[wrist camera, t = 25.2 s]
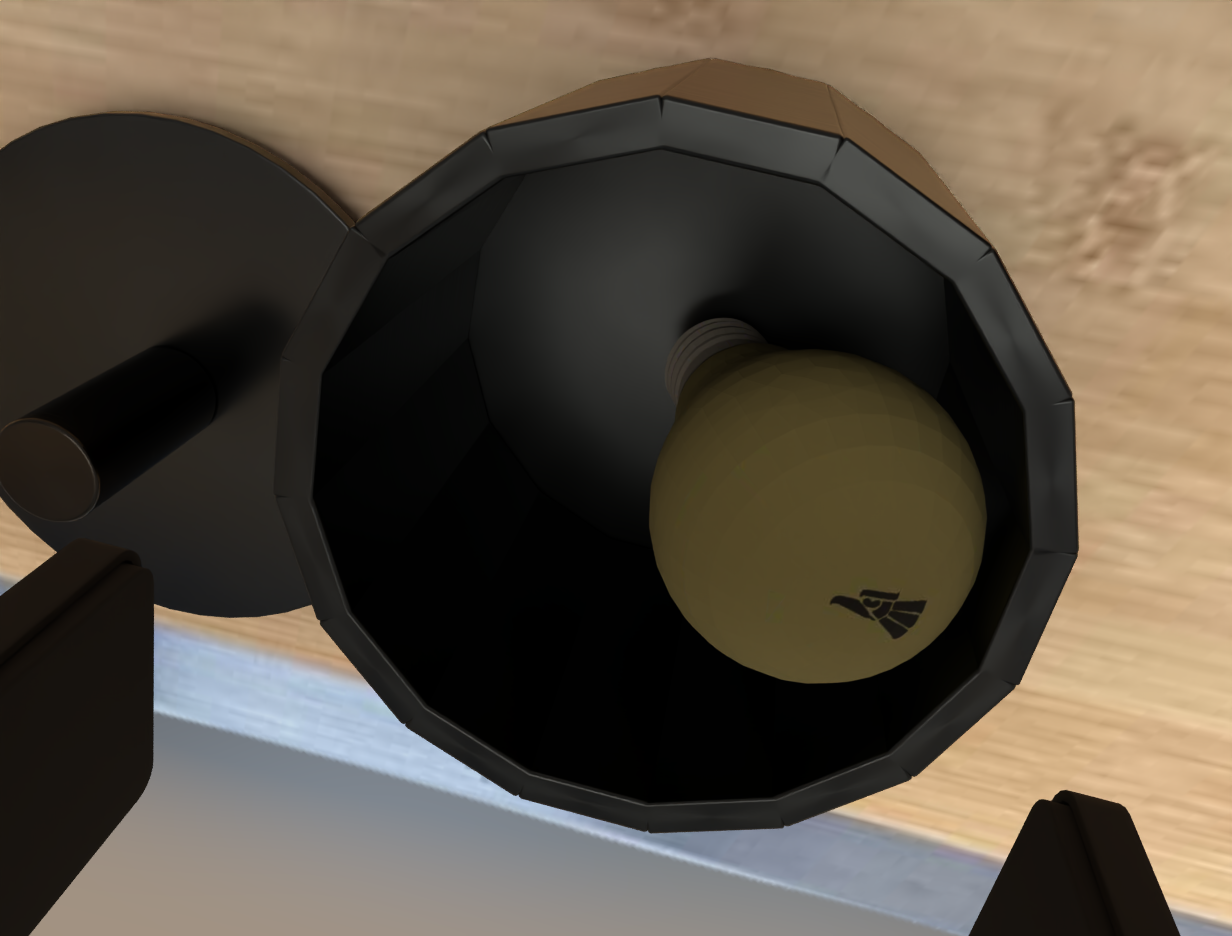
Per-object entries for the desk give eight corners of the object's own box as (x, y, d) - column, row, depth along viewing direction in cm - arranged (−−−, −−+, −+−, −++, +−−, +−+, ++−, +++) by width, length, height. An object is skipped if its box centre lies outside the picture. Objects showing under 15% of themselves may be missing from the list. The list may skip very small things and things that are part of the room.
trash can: (423, 504, 28) (257, 729, 19) (488, 5, 23) (300, 11, 14) (880, 620, 27) (919, 907, 19) (1060, 133, 22) (1231, 223, 13)
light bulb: (847, 236, 23) (1102, 447, 15) (808, 459, 26) (1004, 747, 17) (598, 232, 22) (714, 453, 14) (584, 463, 25) (674, 770, 16)
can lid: (-25, 533, 31) (-205, 650, 25) (-66, 52, 25) (-310, 68, 19) (412, 647, 30) (325, 794, 24) (474, 178, 24) (380, 232, 19)
